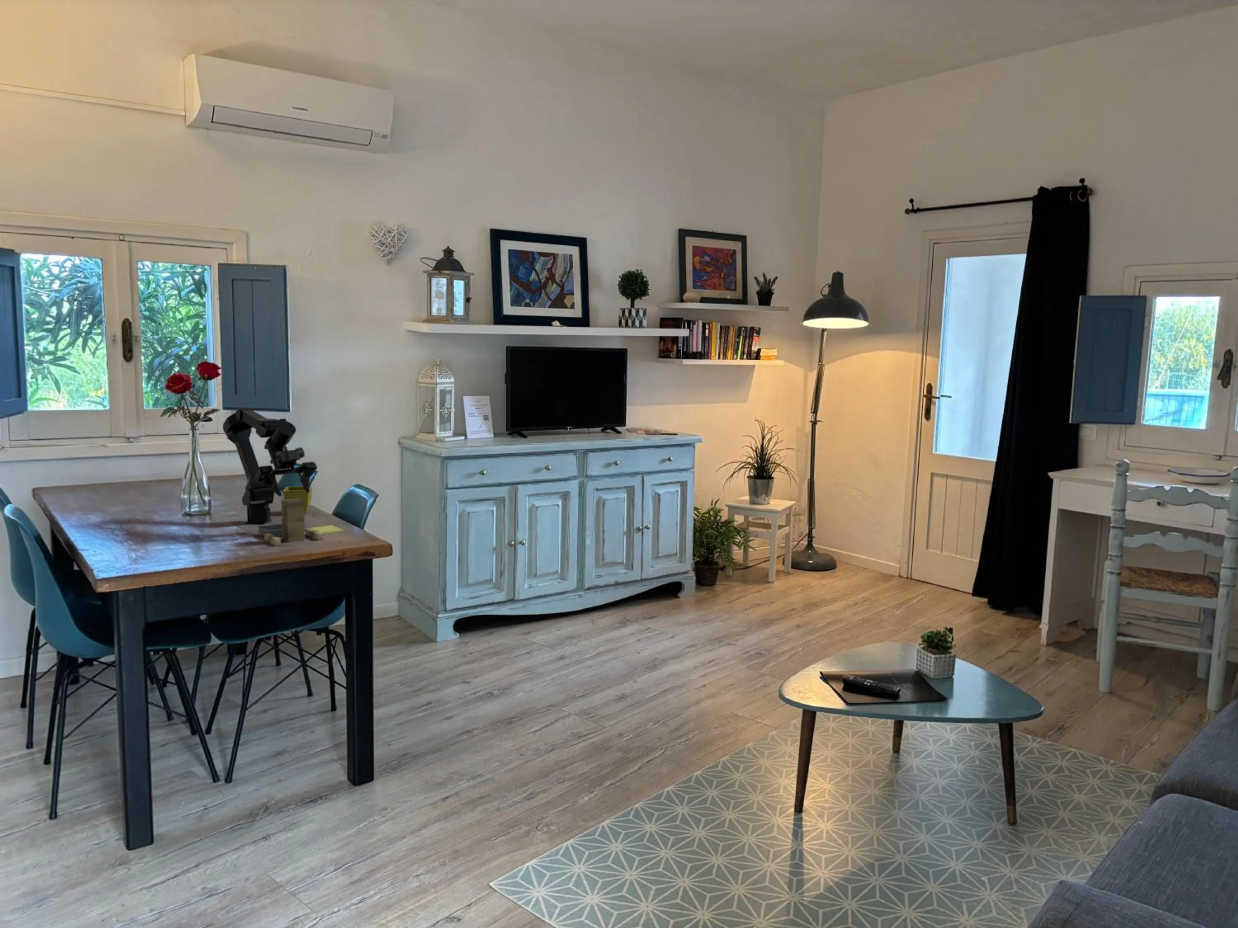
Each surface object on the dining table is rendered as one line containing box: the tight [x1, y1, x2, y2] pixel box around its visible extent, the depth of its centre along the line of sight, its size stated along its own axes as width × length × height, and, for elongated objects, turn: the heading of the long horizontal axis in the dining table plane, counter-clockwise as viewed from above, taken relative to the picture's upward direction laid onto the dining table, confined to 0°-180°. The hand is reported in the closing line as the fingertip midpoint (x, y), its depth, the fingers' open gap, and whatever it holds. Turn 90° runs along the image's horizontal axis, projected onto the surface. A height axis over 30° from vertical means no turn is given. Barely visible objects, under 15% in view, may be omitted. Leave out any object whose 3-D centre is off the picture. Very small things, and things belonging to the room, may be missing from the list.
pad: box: [304, 524, 344, 535], centre depth 293 cm, size 9×9×1 cm
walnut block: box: [281, 499, 306, 543], centre depth 279 cm, size 5×5×12 cm
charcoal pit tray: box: [257, 523, 283, 538], centre depth 286 cm, size 9×9×2 cm
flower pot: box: [282, 485, 313, 514], centre depth 321 cm, size 9×9×9 cm
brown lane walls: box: [263, 527, 324, 547], centre depth 279 cm, size 10×14×2 cm
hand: (294, 494), depth 284 cm, fingers open, 9 cm apart
